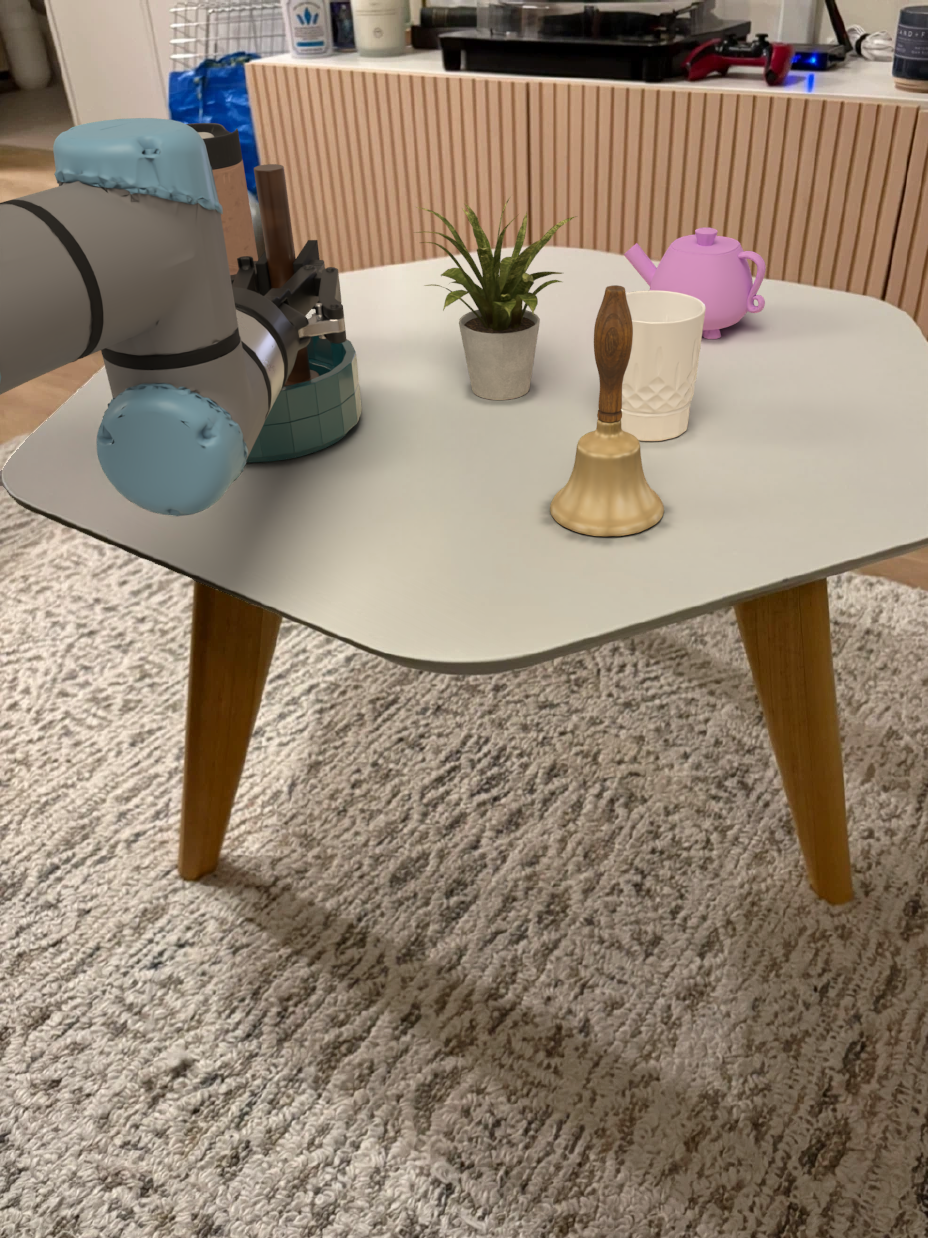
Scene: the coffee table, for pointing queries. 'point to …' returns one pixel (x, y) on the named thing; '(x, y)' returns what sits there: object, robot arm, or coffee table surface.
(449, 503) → the coffee table surface
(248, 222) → the travel mug
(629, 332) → the hand bell
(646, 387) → the white cup
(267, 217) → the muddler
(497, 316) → the house plant
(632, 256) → the teapot
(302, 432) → the bowl
